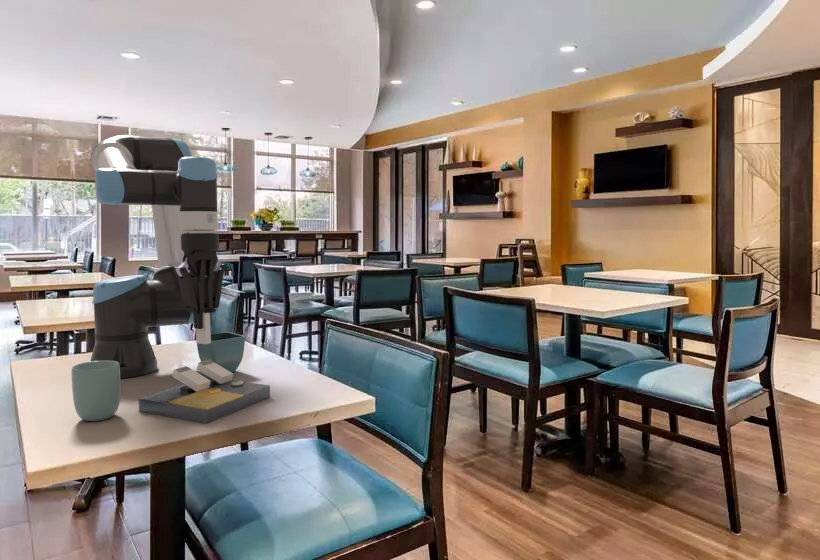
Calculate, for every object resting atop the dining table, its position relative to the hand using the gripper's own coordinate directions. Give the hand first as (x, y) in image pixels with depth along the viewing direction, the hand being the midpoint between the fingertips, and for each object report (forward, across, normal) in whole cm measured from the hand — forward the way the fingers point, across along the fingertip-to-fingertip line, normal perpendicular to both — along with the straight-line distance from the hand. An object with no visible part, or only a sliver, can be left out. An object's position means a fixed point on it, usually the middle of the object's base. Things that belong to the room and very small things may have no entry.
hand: (203, 343), depth 124 cm
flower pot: (+11, +15, +9) cm, 20 cm away
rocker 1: (+6, -6, -3) cm, 9 cm away
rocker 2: (+6, 0, -3) cm, 7 cm away
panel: (+11, -6, -7) cm, 14 cm away
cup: (+11, -21, +5) cm, 25 cm away
